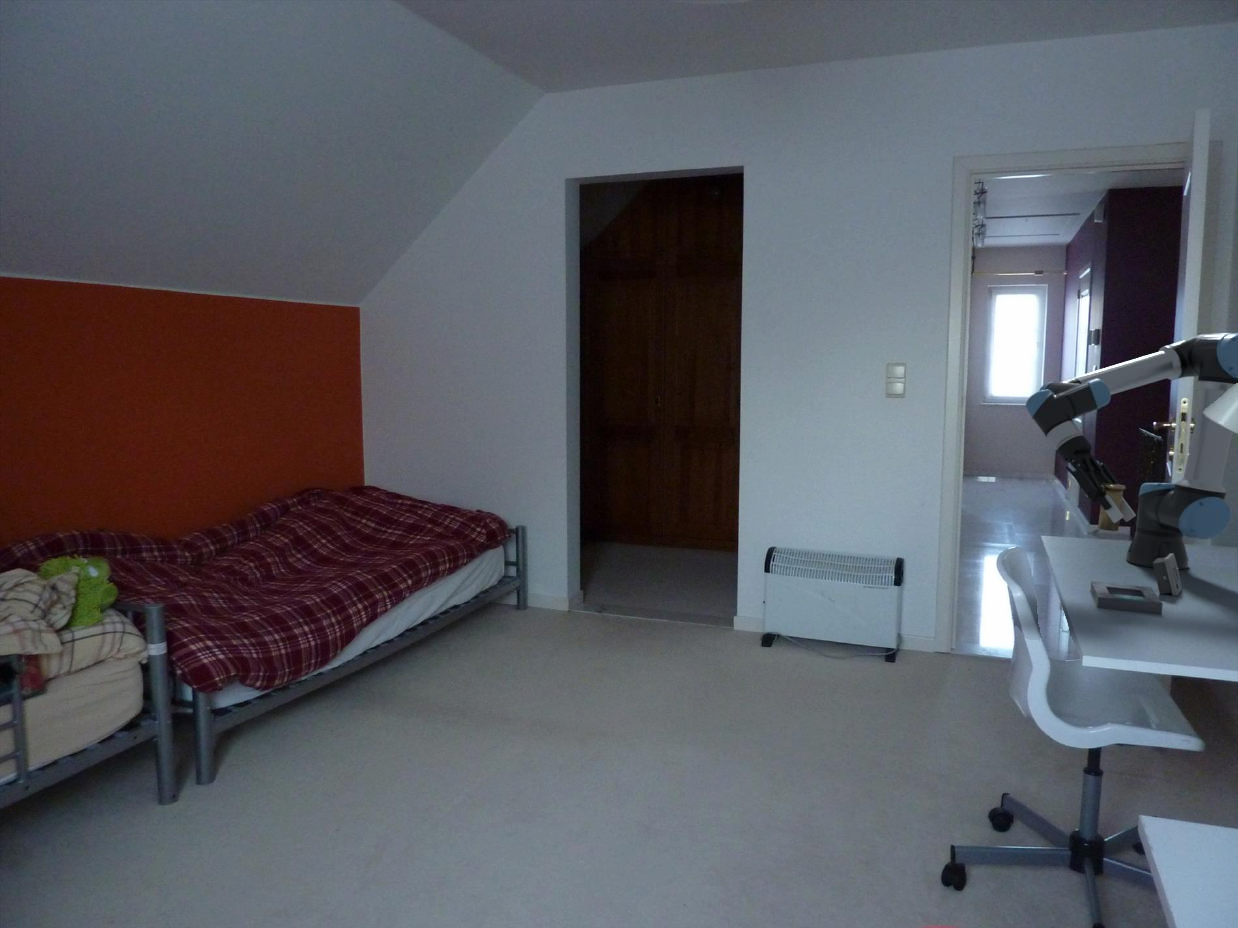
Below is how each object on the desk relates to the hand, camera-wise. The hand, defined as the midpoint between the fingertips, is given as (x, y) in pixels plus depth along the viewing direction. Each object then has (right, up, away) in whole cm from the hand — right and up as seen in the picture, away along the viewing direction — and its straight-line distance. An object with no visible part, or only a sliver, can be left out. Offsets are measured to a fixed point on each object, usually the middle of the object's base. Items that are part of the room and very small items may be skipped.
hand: (1124, 519), depth 223 cm
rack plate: (-3, -19, -5) cm, 20 cm away
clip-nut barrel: (-2, -3, +4) cm, 5 cm away
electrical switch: (+14, -19, +6) cm, 24 cm away
